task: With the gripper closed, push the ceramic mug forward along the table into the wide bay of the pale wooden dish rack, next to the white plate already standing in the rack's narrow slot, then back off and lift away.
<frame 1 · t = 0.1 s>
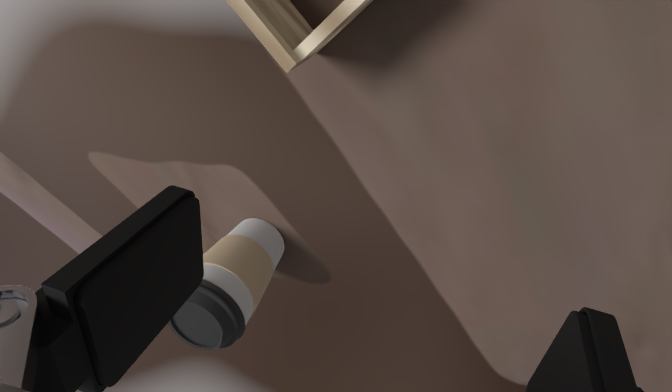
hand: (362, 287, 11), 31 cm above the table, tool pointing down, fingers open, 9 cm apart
coffee cup: (260, 240, 55), on the table
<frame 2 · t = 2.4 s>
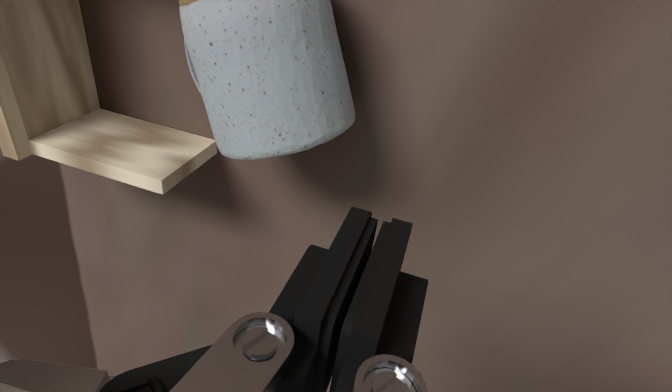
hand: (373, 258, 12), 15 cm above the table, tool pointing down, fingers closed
ceramic mug: (280, 54, 26), on the table
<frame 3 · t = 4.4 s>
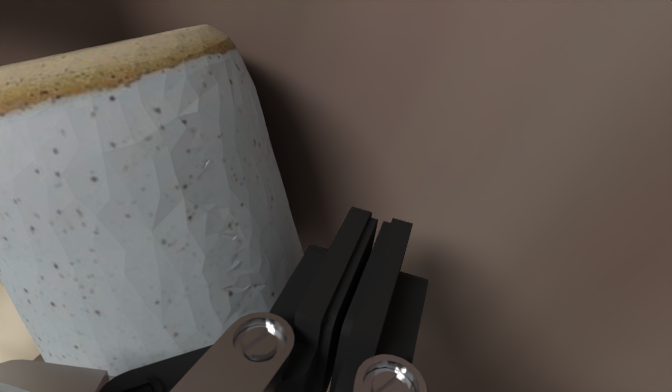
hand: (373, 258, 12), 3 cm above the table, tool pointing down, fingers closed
ceramic mug: (193, 153, 16), on the table, touching gripper
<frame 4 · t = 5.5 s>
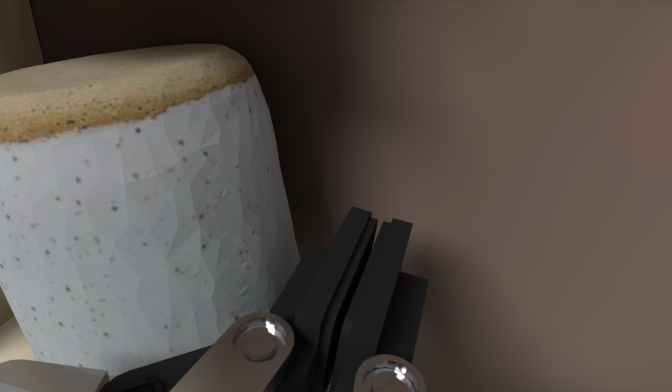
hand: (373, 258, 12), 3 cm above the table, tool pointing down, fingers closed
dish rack: (149, 88, 15), on the table
ceramic mug: (195, 161, 16), on the table, touching gripper
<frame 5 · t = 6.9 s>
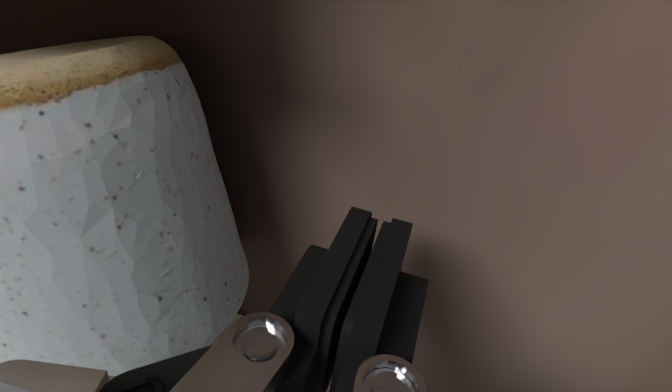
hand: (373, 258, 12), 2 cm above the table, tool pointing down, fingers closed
ceramic mug: (145, 154, 16), on the table
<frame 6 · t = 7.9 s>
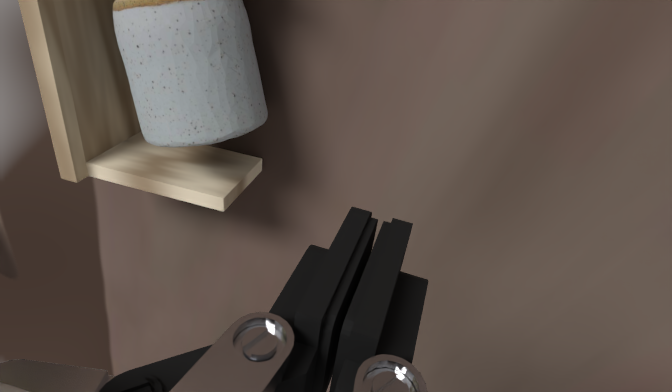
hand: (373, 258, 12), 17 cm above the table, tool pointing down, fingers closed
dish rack: (187, 15, 28), on the table
ceramic mug: (208, 56, 29), on the table
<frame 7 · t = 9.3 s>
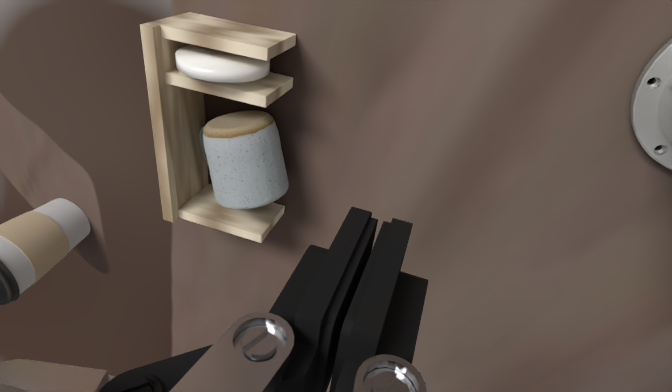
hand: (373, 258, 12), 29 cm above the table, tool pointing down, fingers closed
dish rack: (241, 122, 46), on the table
coffee cup: (71, 217, 63), on the table
white plate: (245, 51, 42), resting in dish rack
ceramic mug: (252, 145, 47), on the table
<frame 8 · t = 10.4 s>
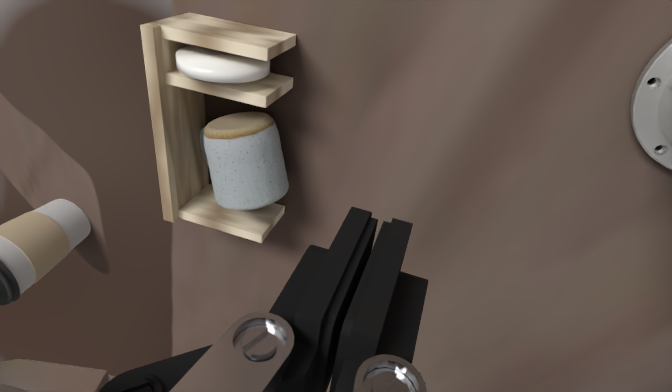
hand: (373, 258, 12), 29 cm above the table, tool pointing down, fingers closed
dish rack: (241, 122, 46), on the table
coffee cup: (71, 217, 63), on the table
white plate: (246, 51, 42), resting in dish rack
ceramic mug: (252, 145, 47), on the table
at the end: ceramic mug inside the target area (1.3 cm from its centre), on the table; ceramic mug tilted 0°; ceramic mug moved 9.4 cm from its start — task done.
